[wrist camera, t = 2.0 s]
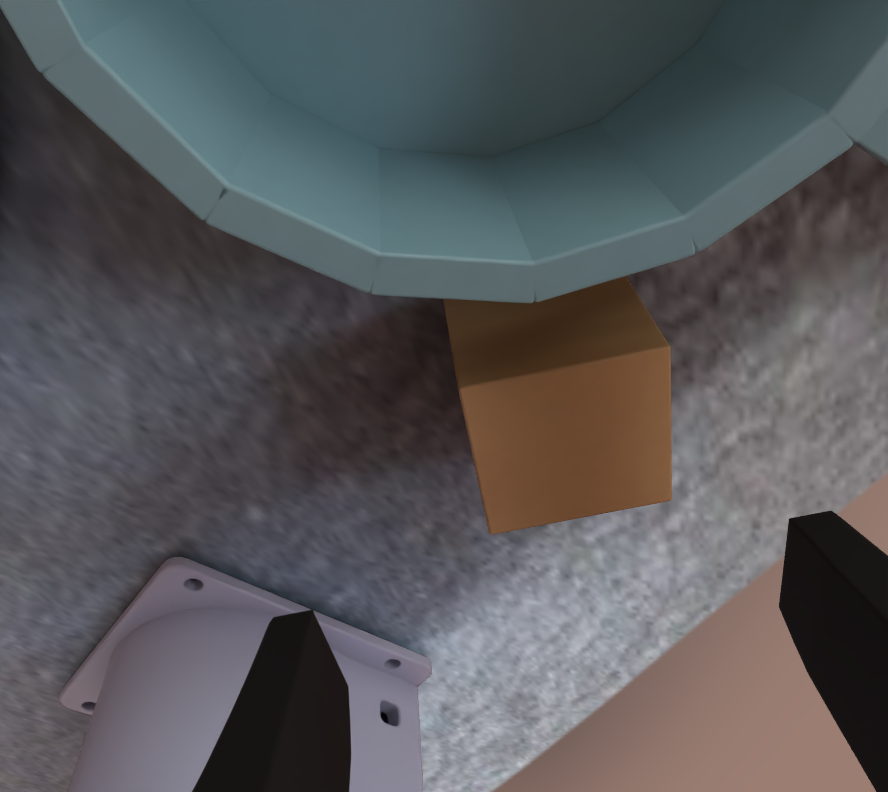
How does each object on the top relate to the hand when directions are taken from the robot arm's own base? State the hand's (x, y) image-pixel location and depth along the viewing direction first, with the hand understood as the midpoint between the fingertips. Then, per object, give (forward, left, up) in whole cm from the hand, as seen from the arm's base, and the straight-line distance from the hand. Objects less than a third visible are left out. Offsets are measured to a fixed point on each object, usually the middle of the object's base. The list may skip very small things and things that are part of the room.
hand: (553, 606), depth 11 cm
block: (-1, 0, -8) cm, 8 cm away
